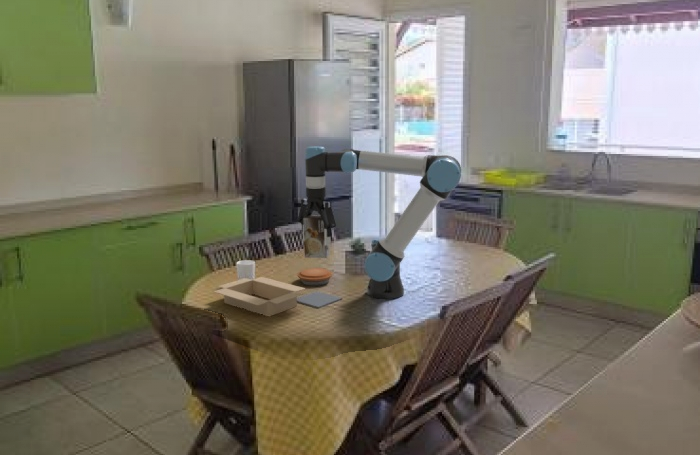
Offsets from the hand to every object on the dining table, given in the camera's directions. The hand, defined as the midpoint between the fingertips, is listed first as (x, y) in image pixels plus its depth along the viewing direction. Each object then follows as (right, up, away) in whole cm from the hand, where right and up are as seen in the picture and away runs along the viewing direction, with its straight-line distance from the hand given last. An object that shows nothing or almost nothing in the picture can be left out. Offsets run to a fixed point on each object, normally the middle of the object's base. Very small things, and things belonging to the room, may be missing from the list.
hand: (316, 242), depth 248 cm
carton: (-22, -24, 0) cm, 33 cm away
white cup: (-32, -19, +26) cm, 45 cm away
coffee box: (0, -6, +1) cm, 6 cm away
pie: (-2, -18, +30) cm, 35 cm away
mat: (0, -23, +5) cm, 24 cm away
